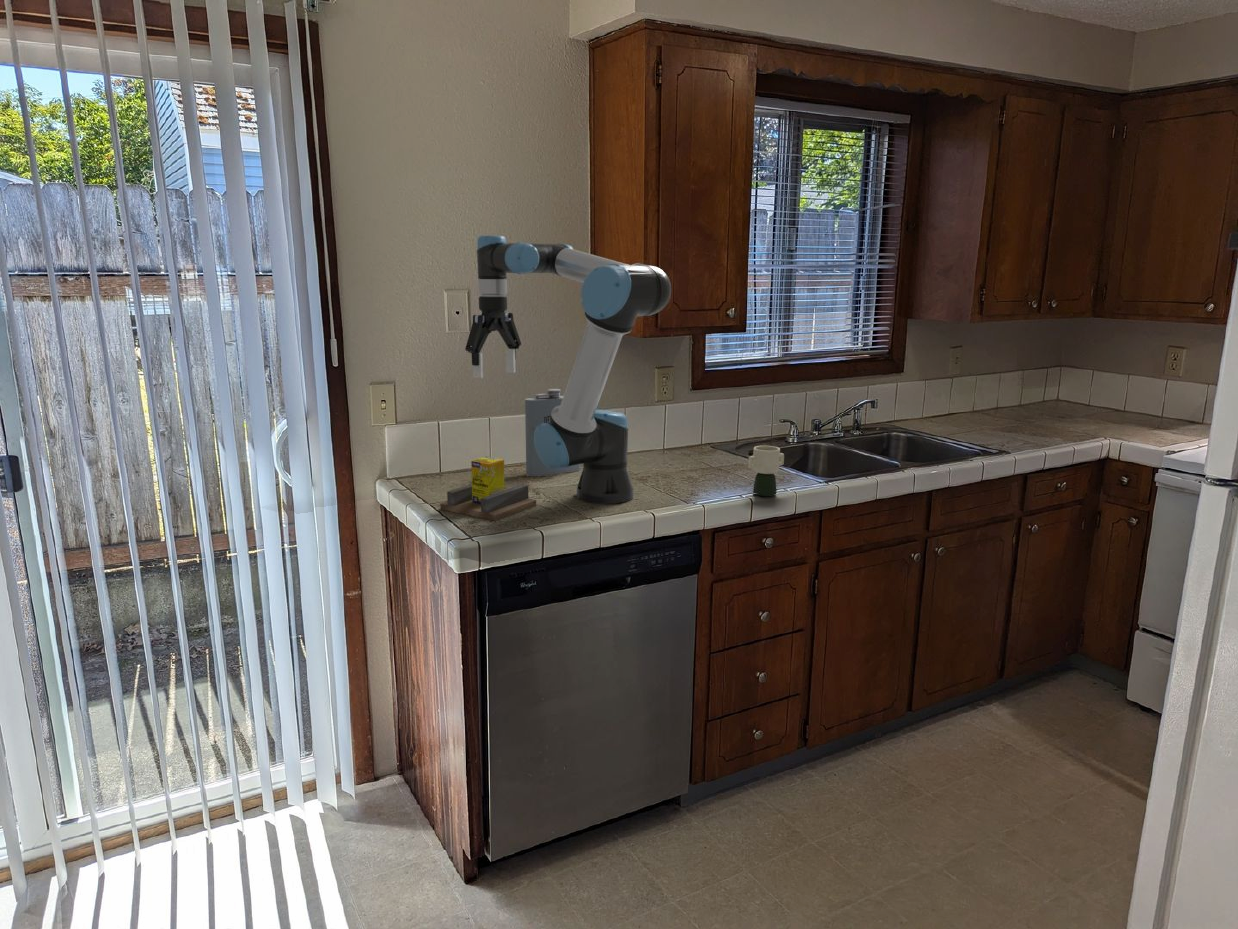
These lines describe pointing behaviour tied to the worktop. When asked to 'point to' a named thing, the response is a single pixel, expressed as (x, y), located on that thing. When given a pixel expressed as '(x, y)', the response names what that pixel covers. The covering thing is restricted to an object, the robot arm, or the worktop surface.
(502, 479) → the supplement box
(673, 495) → the worktop surface
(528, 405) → the flask
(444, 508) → the slot rack
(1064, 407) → the worktop surface
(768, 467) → the character mug
